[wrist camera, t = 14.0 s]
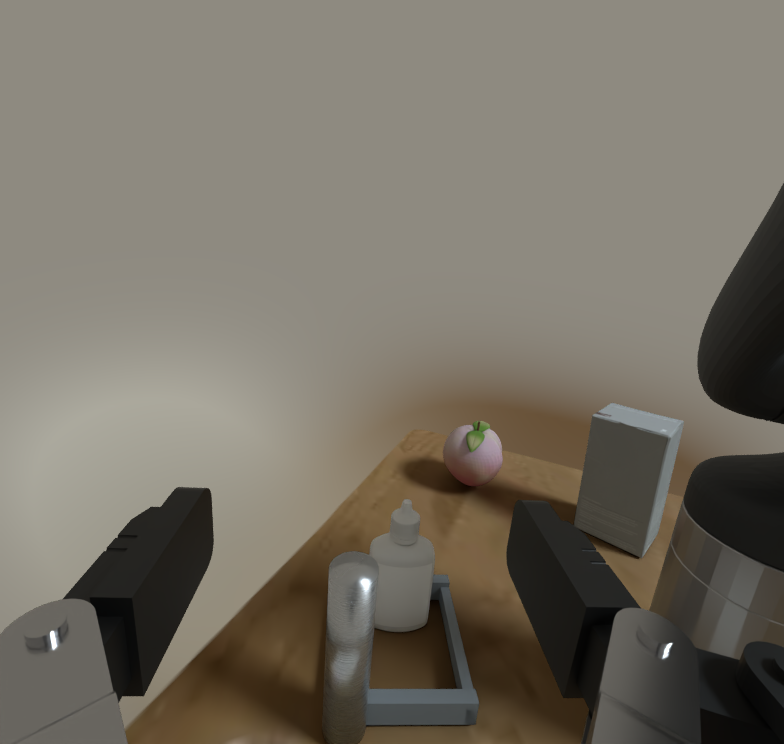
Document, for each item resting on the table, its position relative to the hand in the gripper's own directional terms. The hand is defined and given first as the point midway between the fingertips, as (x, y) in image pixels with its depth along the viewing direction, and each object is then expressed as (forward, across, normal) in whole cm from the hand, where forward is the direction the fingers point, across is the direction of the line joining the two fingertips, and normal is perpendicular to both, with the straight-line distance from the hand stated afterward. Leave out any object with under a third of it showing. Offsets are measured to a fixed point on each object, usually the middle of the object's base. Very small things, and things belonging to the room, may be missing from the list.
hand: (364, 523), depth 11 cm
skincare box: (+34, -32, +25) cm, 53 cm away
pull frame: (+18, -4, +25) cm, 31 cm away
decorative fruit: (+44, -16, +25) cm, 53 cm away
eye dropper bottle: (+21, -4, +25) cm, 33 cm away
